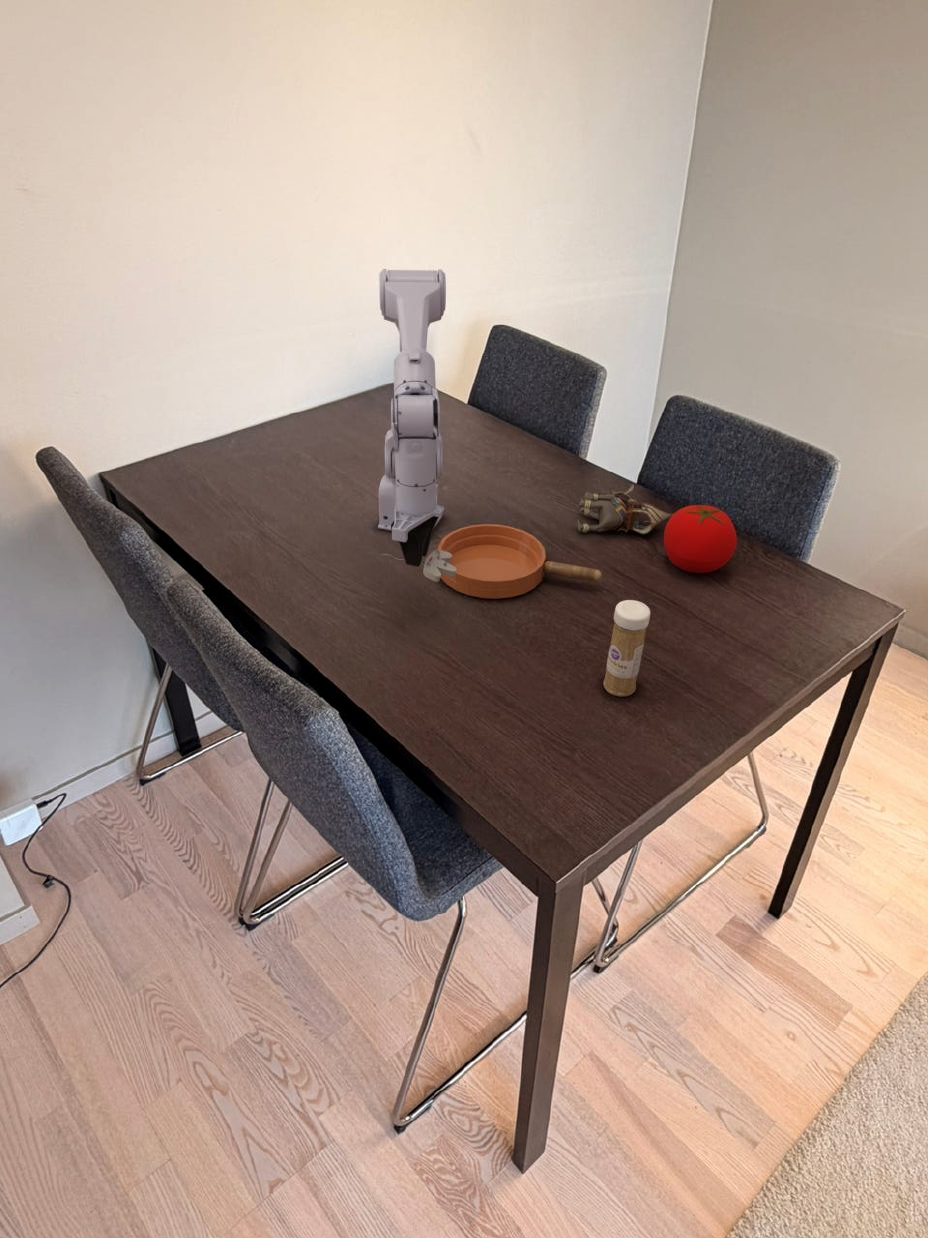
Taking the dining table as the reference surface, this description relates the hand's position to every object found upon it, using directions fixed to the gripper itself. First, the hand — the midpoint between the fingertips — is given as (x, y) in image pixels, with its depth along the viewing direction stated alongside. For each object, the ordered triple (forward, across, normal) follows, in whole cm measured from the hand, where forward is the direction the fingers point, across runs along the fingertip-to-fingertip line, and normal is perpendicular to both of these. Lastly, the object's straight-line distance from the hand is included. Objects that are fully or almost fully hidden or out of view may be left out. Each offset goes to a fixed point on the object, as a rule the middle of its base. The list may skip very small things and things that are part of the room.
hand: (416, 559), depth 130 cm
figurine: (+9, +36, -27) cm, 46 cm away
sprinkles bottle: (+9, -9, -33) cm, 35 cm away
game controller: (+1, +1, 0) cm, 2 cm away
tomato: (+9, +26, -40) cm, 49 cm away
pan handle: (+7, +14, -22) cm, 26 cm away
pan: (+8, +14, -8) cm, 18 cm away
